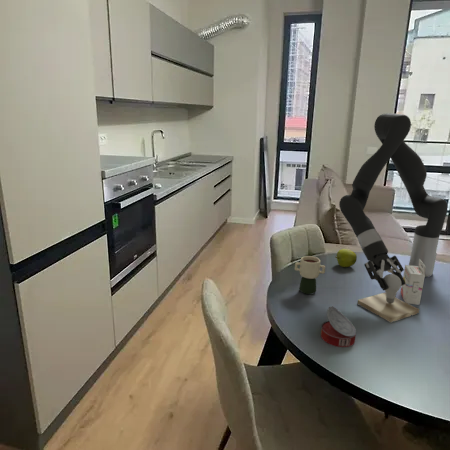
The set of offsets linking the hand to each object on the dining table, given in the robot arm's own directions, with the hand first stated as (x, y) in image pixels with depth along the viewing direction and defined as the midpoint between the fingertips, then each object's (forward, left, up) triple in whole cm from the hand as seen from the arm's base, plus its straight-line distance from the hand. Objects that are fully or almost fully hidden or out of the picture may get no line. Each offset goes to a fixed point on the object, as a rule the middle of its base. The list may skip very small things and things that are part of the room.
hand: (394, 287), depth 128 cm
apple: (-15, -36, -9) cm, 40 cm away
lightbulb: (-1, -2, -7) cm, 7 cm away
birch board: (0, -1, -9) cm, 9 cm away
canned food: (+29, +5, -9) cm, 31 cm away
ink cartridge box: (-14, -3, -9) cm, 16 cm away
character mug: (+17, -23, -9) cm, 30 cm away
